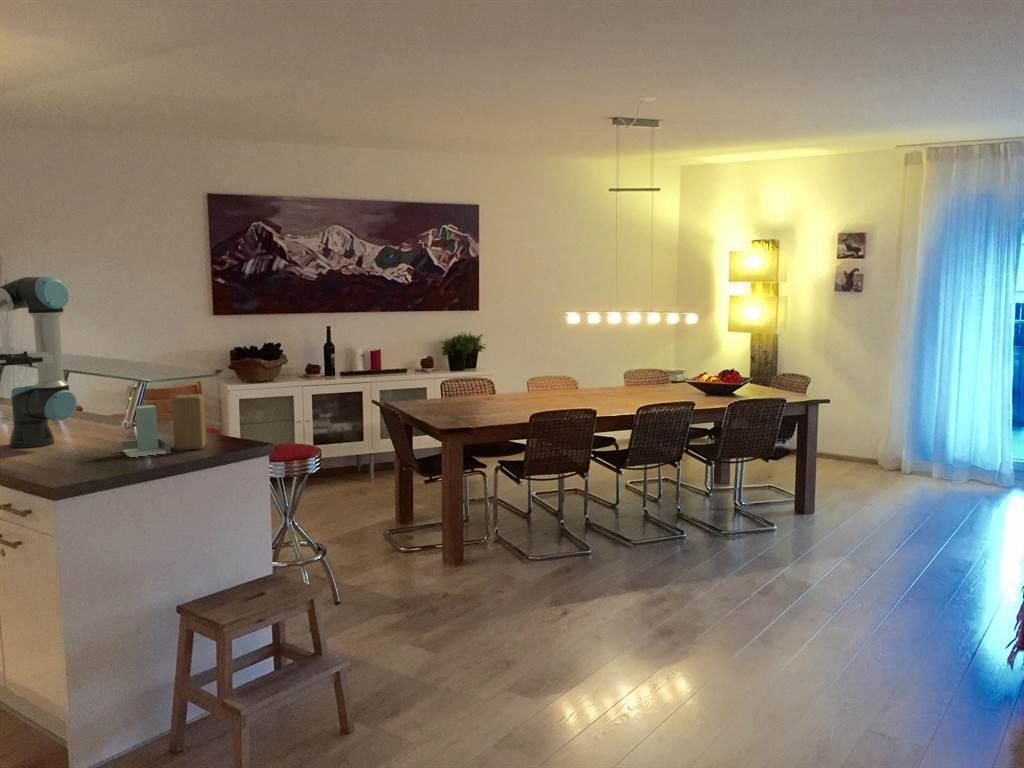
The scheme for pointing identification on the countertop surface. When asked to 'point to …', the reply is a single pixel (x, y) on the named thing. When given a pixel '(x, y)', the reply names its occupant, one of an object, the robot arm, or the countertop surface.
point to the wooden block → (189, 421)
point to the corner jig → (132, 451)
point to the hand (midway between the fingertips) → (50, 357)
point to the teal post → (146, 428)
